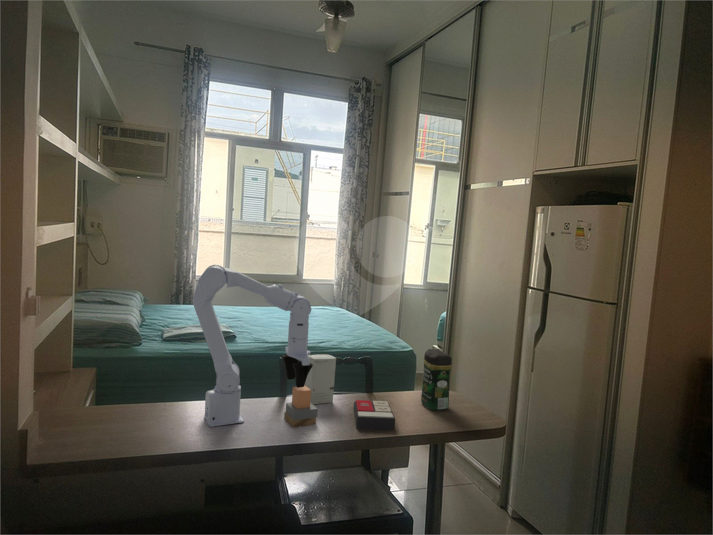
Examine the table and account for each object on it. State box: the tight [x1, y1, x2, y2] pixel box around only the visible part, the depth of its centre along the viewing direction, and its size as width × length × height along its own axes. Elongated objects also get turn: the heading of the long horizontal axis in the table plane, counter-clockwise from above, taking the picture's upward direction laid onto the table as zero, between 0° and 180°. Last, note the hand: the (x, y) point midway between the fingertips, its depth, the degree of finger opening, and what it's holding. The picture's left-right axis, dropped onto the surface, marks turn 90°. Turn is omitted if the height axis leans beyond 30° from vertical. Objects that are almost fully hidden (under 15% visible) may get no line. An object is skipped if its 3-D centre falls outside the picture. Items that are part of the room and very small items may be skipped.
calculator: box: [353, 399, 396, 431], centre depth 142 cm, size 11×4×15 cm
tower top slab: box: [285, 401, 318, 420], centre depth 137 cm, size 7×7×2 cm
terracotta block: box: [291, 385, 311, 409], centre depth 137 cm, size 4×4×5 cm
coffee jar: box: [420, 348, 453, 412], centre depth 155 cm, size 10×8×19 cm
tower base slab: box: [283, 410, 317, 428], centre depth 137 cm, size 7×7×2 cm
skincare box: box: [304, 354, 337, 406], centre depth 154 cm, size 8×6×15 cm
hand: (295, 382), depth 139 cm, fingers open, 7 cm apart
